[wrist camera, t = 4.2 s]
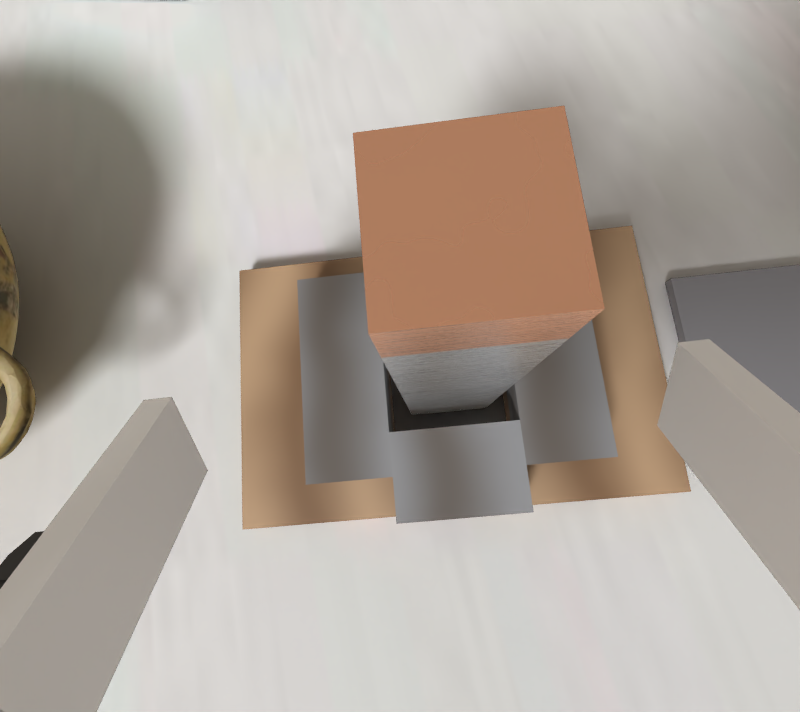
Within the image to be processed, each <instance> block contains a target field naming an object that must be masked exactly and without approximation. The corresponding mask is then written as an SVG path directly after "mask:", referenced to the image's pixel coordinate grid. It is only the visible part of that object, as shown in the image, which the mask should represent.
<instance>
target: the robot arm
mask: <svg viewBox="0 0 800 712" xmlns="http://www.w3.org/2000/svg"><path fill="white" fill-rule="evenodd" d="M657 426H658V427H659V429H660V430H661V431H662V432H663V434H664V435H665V436H666V438H667V439H668V440H669V441H670V443H671V444H672V445H673V447H674V448H675V449H676V451H677V452H678V453H679V454H680V456H681V457H682V458H683V460H684V461H685V462H686V463H687V465H688V466H689V467H690V469H691V470H692V471H693V473H694V474H695V475H696V476H697V478H698V479H699V480H700V482H701V483H702V484H703V486H704V487H705V488H706V489H707V491H708V492H709V493H710V495H711V496H712V497H713V498H714V500H715V501H716V502H717V504H718V505H719V506H720V508H721V509H722V510H723V511H724V513H725V514H726V515H727V517H728V518H729V519H730V520H731V522H732V523H733V524H734V526H735V527H736V528H737V530H738V531H739V532H740V533H741V535H742V536H743V537H744V539H745V540H746V541H747V543H748V544H749V545H750V546H751V548H752V549H753V550H754V552H755V553H756V554H757V555H758V557H759V558H760V559H761V561H762V562H763V563H764V565H765V566H766V567H767V568H768V570H769V571H770V572H771V574H772V575H773V576H774V578H775V579H776V580H777V581H778V583H779V584H780V585H781V587H782V588H783V589H784V590H785V592H786V593H787V594H788V596H789V597H790V598H791V600H792V601H793V602H794V603H795V605H796V606H797V607H798V609H799V610H800V413H799V412H798V411H797V410H795V409H794V408H793V407H792V406H791V405H789V404H788V403H787V402H786V401H784V400H783V399H782V398H781V397H780V396H778V395H777V394H776V393H775V392H773V391H772V390H771V389H770V388H769V387H767V386H766V385H765V384H764V383H762V382H761V381H760V380H759V379H757V378H756V377H755V376H754V375H753V374H751V373H750V372H749V371H748V370H746V369H745V368H744V367H743V366H742V365H740V364H739V363H738V362H737V361H735V360H734V359H733V358H732V357H731V356H729V355H728V354H727V353H726V352H724V351H723V350H722V349H721V348H719V347H718V346H717V345H716V344H715V343H713V342H712V341H711V340H710V339H705V340H696V341H687V342H678V345H677V349H676V353H675V356H674V360H673V364H672V368H671V372H670V376H669V380H668V384H667V388H666V392H665V396H664V400H663V404H662V408H661V412H660V416H659V420H658V424H657ZM207 471H208V470H207V468H206V466H205V464H204V462H203V460H202V458H201V456H200V454H199V452H198V450H197V448H196V445H195V443H194V441H193V439H192V437H191V435H190V433H189V431H188V429H187V427H186V425H185V423H184V421H183V419H182V417H181V415H180V413H179V411H178V409H177V407H176V404H175V402H174V400H173V398H172V397H168V398H158V399H149V400H144V401H143V402H142V403H141V404H140V406H139V407H138V408H137V410H136V411H135V412H134V414H133V415H132V416H131V418H130V419H129V420H128V422H127V423H126V424H125V426H124V427H123V428H122V429H121V431H120V432H119V433H118V435H117V436H116V437H115V439H114V440H113V441H112V443H111V444H110V445H109V447H108V448H107V449H106V451H105V452H104V453H103V454H102V456H101V457H100V458H99V460H98V461H97V462H96V464H95V465H94V466H93V468H92V469H91V470H90V472H89V473H88V474H87V476H86V477H85V478H84V480H83V481H82V482H81V483H80V485H79V486H78V487H77V489H76V490H75V491H74V493H73V494H72V495H71V497H70V498H69V499H68V501H67V502H66V503H65V505H64V506H63V507H62V508H61V510H60V511H59V512H58V514H57V515H56V516H55V518H54V519H53V520H52V522H51V523H50V524H49V526H48V527H47V528H46V530H45V531H43V532H35V533H34V534H33V535H31V536H30V537H29V538H28V539H27V540H26V541H24V542H23V543H22V544H21V545H20V546H19V547H17V548H16V549H15V550H14V551H13V552H12V553H10V554H9V555H8V556H7V557H6V559H5V560H4V561H3V562H2V564H1V565H0V712H97V710H98V708H99V705H100V703H101V701H102V699H103V697H104V694H105V692H106V690H107V688H108V686H109V684H110V681H111V679H112V677H113V675H114V673H115V671H116V668H117V666H118V664H119V662H120V660H121V658H122V655H123V653H124V651H125V649H126V647H127V645H128V642H129V640H130V638H131V636H132V634H133V632H134V629H135V627H136V625H137V623H138V621H139V619H140V616H141V614H142V612H143V610H144V608H145V605H146V603H147V601H148V599H149V597H150V595H151V592H152V590H153V588H154V586H155V584H156V582H157V579H158V577H159V575H160V573H161V571H162V569H163V566H164V564H165V562H166V560H167V558H168V556H169V553H170V551H171V549H172V547H173V545H174V543H175V540H176V538H177V536H178V534H179V532H180V530H181V527H182V525H183V523H184V521H185V519H186V517H187V514H188V512H189V510H190V508H191V506H192V503H193V501H194V499H195V497H196V495H197V493H198V490H199V488H200V486H201V484H202V482H203V480H204V477H205V475H206V473H207Z"/></svg>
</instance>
